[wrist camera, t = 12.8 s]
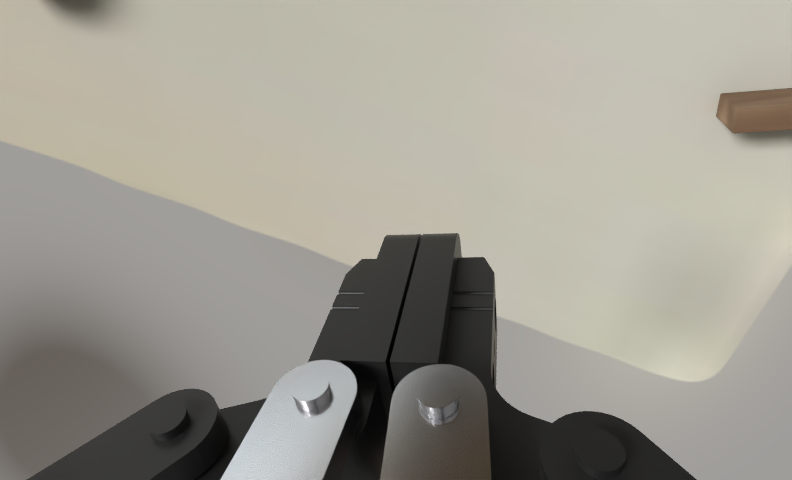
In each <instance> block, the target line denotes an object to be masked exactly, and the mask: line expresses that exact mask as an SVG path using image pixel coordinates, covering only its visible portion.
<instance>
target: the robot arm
mask: <svg viewBox="0 0 792 480" xmlns="http://www.w3.org/2000/svg"><path fill="white" fill-rule="evenodd" d="M496 351H497V318H496V298H495V278H494V272H493V270H492V269H491V267H490V266H489V264H488V263H487V261H486V259H485V258H484V257H472V258H462V256H461V245H460V237H459V234H458V233H452V234H423V235H421V234H418V235H387V236H385V238H384V241H383V243H382V246H381V249H380V252H379V254H378V257H377V259H362V260H361V261H360V262H359V263H357V264H356V265H355V266H354V267H353V268H352V269H351V270H350V271H349V272H348V273H347V274H346V276H345V278H344V280H343V283H342V285H341V287H340V290H339V295H337V296H336V299H335V301H334V303H333V309H332V310H330V313H329V315H328V317H327V320H326V322H325V324H324V326H323V329H322V331H321V333H320V336H319V338H318V340H317V343H316V345H315V347H314V350H313V352H312V354H311V356H310V359H309V361H308V362H307V363H304V364H302V365H299V366H297V367H295V368H293V369H292V370H290V371H289V372H288V373H286V374H285V375H284V376H283V377H282V378H281V379H280V380H279V381H278V382H277V383H276V384H275V386H274V387H273V389H272V390H271V393H270V394H269V396H268V397H267V398H265V399H262V400H259V401H254V402H250V403H246V404H241V405H237V406H233V407H228V408H224V409H220V410H219V408H218V406H217V404H216V402H215V400H214V398H213V397H212V396H211V395H210V394H209V393H207V392H205V391H203V390H199V389H184V390H179V391H176V392H172V393H170V394H167V395H165V396H163V397H161V398H159V399H157V400H156V401H154V402H152V403H151V404H149V405H148V406H146V407H144V408H143V409H141V410H139V411H138V412H136V413H134V414H133V415H131V416H130V417H128V418H126V419H125V420H123V421H121V422H120V423H118V424H117V425H115V426H113V427H112V428H110V429H109V430H107V431H105V432H104V433H102V434H100V435H99V436H97V437H95V438H94V439H92V440H91V441H89V442H88V443H86V444H84V445H83V446H81V447H79V448H78V449H76V450H74V451H73V452H71V453H70V454H68V455H66V456H65V457H63V458H61V459H60V460H58V461H57V462H55V463H53V464H52V465H50V466H48V467H47V468H45V469H44V470H42V471H40V472H39V473H37V474H35V475H34V476H32V477H31V478H29V479H27V480H696V479H695V478H694V477H693V476H692V475H691V474H689V473H688V472H687V471H686V470H685V469H683V468H682V467H681V466H680V465H679V464H678V463H676V462H675V461H674V460H673V459H672V458H671V457H669V456H668V455H667V454H666V453H665V452H664V451H662V450H661V449H660V448H659V447H658V446H656V445H655V444H654V443H653V442H652V441H651V440H649V439H648V438H647V437H646V436H645V435H644V434H642V433H641V432H640V431H639V430H638V429H636V428H635V427H633V426H632V425H631V424H629V423H627V422H625V421H624V420H622V419H619V418H617V417H615V416H612V415H609V414H605V413H599V412H592V411H583V412H575V413H571V414H568V415H565V416H563V417H561V418H559V419H558V420H556V421H555V422H553V423H550V422H547V421H544V420H541V419H538V418H535V417H532V416H530V415H527V414H525V413H523V412H521V411H519V410H517V409H515V408H514V407H512V406H511V405H510V404H508V403H507V402H506V401H505V400H504V399H503V398H502V397H501V396H500V394H499V393H498V391H497V390H496V359H497V358H496V357H497V356H496V355H497V352H496Z"/></svg>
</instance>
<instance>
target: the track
mask: <svg viewBox="0 0 792 480" xmlns="http://www.w3.org/2000/svg"><path fill="white" fill-rule="evenodd" d="M716 116H717V117H718V118H719V120H720V121H721V122H722V123H723V124H724V125H725V126H726V127H727V128H728V129H729V130H730V131H731V132H732V133H743V132H759V131H774V130H790V129H792V88H787V89H775V90H762V91H749V92H737V93H724V94H721V95H720V100H719V105H718V110H717V115H716Z"/></svg>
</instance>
